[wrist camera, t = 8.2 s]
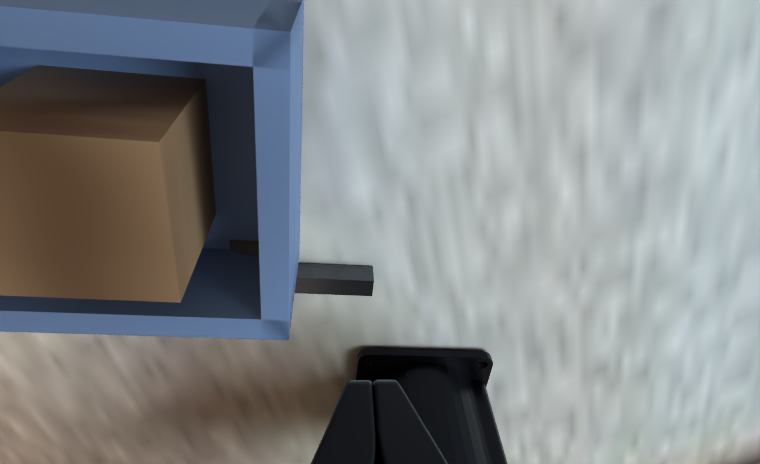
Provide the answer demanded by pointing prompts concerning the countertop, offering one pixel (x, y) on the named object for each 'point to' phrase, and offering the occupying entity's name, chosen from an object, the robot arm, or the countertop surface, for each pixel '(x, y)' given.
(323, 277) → the track
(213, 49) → the box
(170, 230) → the block
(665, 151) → the countertop surface
